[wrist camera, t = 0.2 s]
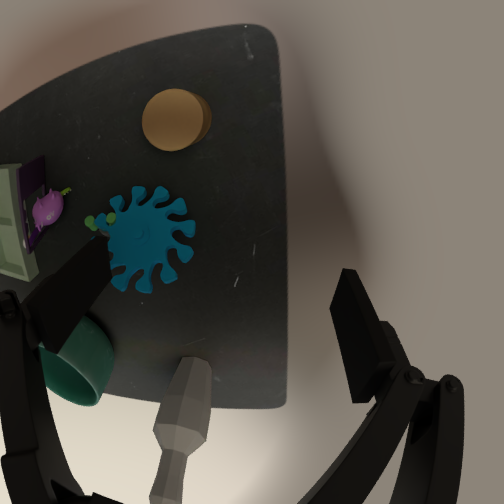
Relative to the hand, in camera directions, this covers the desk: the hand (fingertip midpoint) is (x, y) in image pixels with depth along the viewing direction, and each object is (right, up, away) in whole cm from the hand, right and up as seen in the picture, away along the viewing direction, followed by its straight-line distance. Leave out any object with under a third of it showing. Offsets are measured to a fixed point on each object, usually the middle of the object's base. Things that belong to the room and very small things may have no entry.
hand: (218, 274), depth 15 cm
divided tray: (-34, +6, +12) cm, 37 cm away
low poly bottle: (-6, -15, +22) cm, 27 cm away
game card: (-20, +8, +11) cm, 24 cm away
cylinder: (-4, +13, +7) cm, 15 cm away
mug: (-25, -10, +21) cm, 34 cm away
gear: (-8, +4, +12) cm, 15 cm away
